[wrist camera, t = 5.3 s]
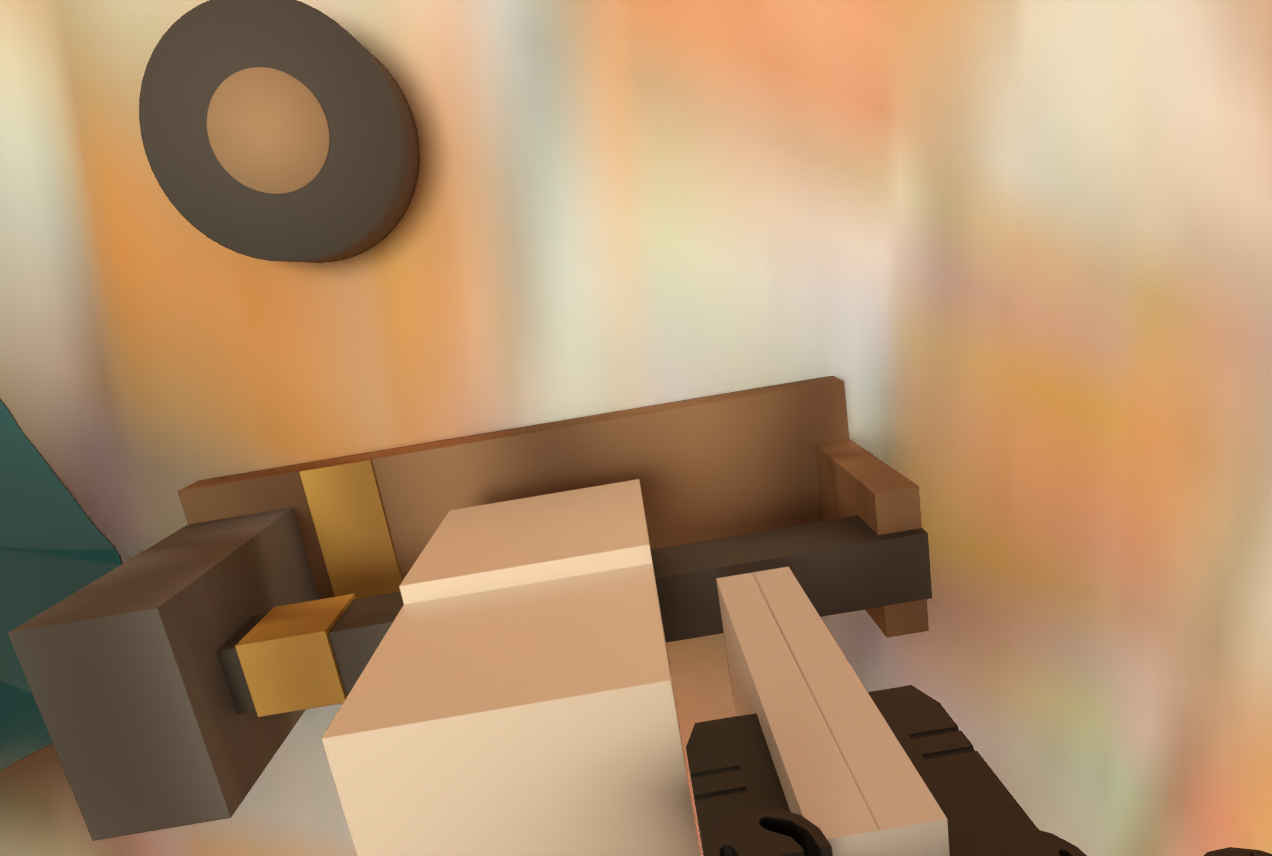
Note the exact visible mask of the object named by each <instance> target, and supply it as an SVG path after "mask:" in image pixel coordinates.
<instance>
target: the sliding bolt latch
mask: <svg viewBox="0 0 1272 856" xmlns="http://www.w3.org/2000/svg"><path fill="white" fill-rule="evenodd" d="M636 479H639V481H640V487H641V493H642V499H643V505H644V511H645V517H646V523H647V529H648V535H649V541H650V547H651V556H652V562H653V569H654V575H655V581H656V587H657V593H658V599H659V605H660V611H661V617H662V623H663V629H664V635H665V641H666V642H672V641H678V640H684V639H690V638H696V637H702V636H708V635H714V634H720V633H724V631H723V624H722V617H721V610H720V603H719V595H718V588H717V581H716V578H722V577H728V576H734V575H740V574H746V573H752V572H758V571H765V570H771V569H777V568H783V567H789V568H790V570H791V571H792V573H793V574H794V576H795V578H796V579H797V581H798V582H799V584H800V586H801V587H802V589H803V590H804V592H805V594H806V595H807V597H808V598H809V600H810V601H811V603H812V605H813V606H814V608H815V609H816V611H817V613H818V614H819V616H820V617H821V616H827V615H833V614H839V613H845V612H851V611H857V610H863V609H865V610H866V611H867V612H868V614H869V615H870V616H871V618H872V619H873V620H874V621H875V623H876V624H877V625H878V627H879V628H880V629H881V631H882V632H883V633H884V635H885V636H886V637H893V636H899V635H905V634H911V633H917V632H923V631H929V628H928V614H927V599H929V598H932V591H931V576H930V561H929V546H928V533H927V532H926V531H925V530H923V529H922V527H921V512H920V498H919V486H917V485H916V484H914V483H913V482H911V481H910V480H909V479H907V478H906V477H904V476H903V475H901V474H900V473H898V472H897V471H895V470H894V469H892V468H891V467H890V466H888V465H887V464H885V463H884V462H882V461H881V460H879V459H878V458H876V457H875V456H874V455H872V454H871V453H869V452H868V451H866V450H865V449H863V448H862V447H860V446H859V445H857V444H856V443H855V442H853V441H852V440H850V439H849V432H848V421H847V410H846V399H845V388H844V381H843V380H840V379H838V378H836V377H834V376H829V377H823V378H817V379H811V380H805V381H799V382H793V383H787V384H780V385H774V386H768V387H762V388H756V389H750V390H744V391H738V392H732V393H726V394H720V395H714V396H708V397H702V398H696V399H690V400H684V401H678V402H672V403H666V404H660V405H654V406H648V407H642V408H636V409H629V410H623V411H617V412H611V413H605V414H599V415H593V416H587V417H581V418H575V419H569V420H563V421H557V422H551V423H545V424H539V425H533V426H527V427H521V428H515V429H509V430H503V431H497V432H491V433H484V434H478V435H472V436H466V437H460V438H454V439H448V440H442V441H436V442H430V443H424V444H418V445H412V446H406V447H400V448H394V449H388V450H382V451H376V452H370V453H364V454H358V455H352V456H346V457H340V458H333V459H327V460H321V461H315V462H309V463H303V464H297V465H291V466H285V467H279V468H273V469H267V470H261V471H255V472H249V473H243V474H237V475H231V476H225V477H219V478H213V479H207V480H201V481H197V482H195V483H193V484H191V485H189V486H187V487H185V488H184V489H182V490H180V491H178V493H179V496H180V499H181V502H182V506H183V509H184V512H185V515H186V518H187V521H188V524H189V525H187V526H185V527H184V528H182V529H180V530H179V531H177V532H175V533H174V534H172V535H170V536H169V537H167V538H165V539H164V540H162V541H160V542H159V543H157V544H155V545H154V546H152V547H150V548H149V549H147V550H145V551H144V552H142V553H140V554H139V555H137V556H135V557H134V558H132V559H130V560H129V561H127V562H125V563H124V564H122V565H120V566H119V567H117V568H115V569H114V570H112V571H110V572H109V573H107V574H105V575H104V576H102V577H100V578H99V579H97V580H95V581H94V582H92V583H90V584H89V585H87V586H85V587H84V588H82V589H80V590H79V591H77V592H75V593H74V594H72V595H70V596H69V597H67V598H65V599H64V600H62V601H60V602H59V603H57V604H55V605H54V606H52V607H50V608H49V609H47V610H45V611H44V612H42V613H40V614H39V615H37V616H35V617H34V618H32V619H30V620H29V621H27V622H25V623H24V624H22V625H20V626H19V627H17V628H15V629H14V630H12V631H10V632H9V633H8V635H9V637H10V640H11V642H12V645H13V647H14V650H15V652H16V654H17V657H18V659H19V662H20V664H21V667H22V669H23V671H24V674H25V676H26V679H27V681H28V684H29V686H30V689H31V691H32V693H33V696H34V698H35V701H36V703H37V706H38V708H39V711H40V713H41V715H42V718H43V720H44V723H45V725H46V728H47V730H48V733H49V735H50V737H51V740H52V742H53V745H54V747H55V750H56V752H57V755H58V757H59V759H60V762H61V764H62V767H63V769H64V772H65V774H66V777H67V779H68V781H69V784H70V786H71V789H72V791H73V794H74V796H75V799H76V801H77V803H78V806H79V808H80V811H81V813H82V816H83V818H84V820H85V823H86V825H87V828H88V830H89V833H90V835H91V838H92V840H93V841H94V840H100V839H106V838H112V837H118V836H124V835H130V834H136V833H142V832H148V831H154V830H160V829H166V828H172V827H178V826H184V825H190V824H196V823H202V822H208V821H214V820H220V819H226V818H231V817H232V815H233V814H234V812H235V811H236V809H237V808H238V806H239V805H240V804H241V802H242V801H243V799H244V798H245V796H246V795H247V793H248V792H249V791H250V789H251V788H252V786H253V785H254V783H255V782H256V780H257V779H258V778H259V776H260V775H261V773H262V772H263V770H264V769H265V767H266V766H267V765H268V763H269V762H270V760H271V759H272V757H273V756H274V754H275V753H276V752H277V750H278V749H279V747H280V746H281V744H282V743H283V741H284V740H285V739H286V737H287V736H288V734H289V733H290V731H291V730H292V728H293V727H294V726H295V724H296V723H297V721H298V720H299V718H300V717H301V715H302V714H303V713H304V711H305V710H306V709H309V708H315V707H321V706H327V705H333V704H339V703H344V701H345V700H346V698H347V696H348V695H349V693H350V692H351V690H352V688H353V687H354V685H355V683H356V682H357V680H358V678H359V677H360V675H361V674H362V672H363V670H364V669H365V667H366V665H367V664H368V662H369V661H370V659H371V657H372V656H373V654H374V652H375V651H376V649H377V648H378V646H379V644H380V643H381V641H382V639H383V638H384V636H385V635H386V633H387V631H388V630H389V628H390V626H391V625H392V623H393V622H394V620H395V618H396V617H397V615H398V613H399V612H400V610H401V609H402V607H403V605H404V603H403V599H402V595H401V591H400V587H399V586H400V584H401V583H402V581H403V580H404V578H405V577H406V575H407V574H408V572H409V571H410V569H411V568H412V566H413V565H414V563H415V562H416V560H417V559H418V557H419V556H420V554H421V553H422V551H423V550H424V548H425V547H426V545H427V544H428V542H429V541H430V539H431V538H432V536H433V535H434V533H435V532H436V530H437V529H438V527H439V526H440V524H441V523H442V521H443V520H444V518H445V517H446V515H447V514H448V512H449V511H450V510H456V509H462V508H468V507H474V506H480V505H486V504H492V503H498V502H504V501H510V500H516V499H522V498H528V497H534V496H540V495H546V494H552V493H558V492H564V491H570V490H576V489H582V488H588V487H594V486H600V485H606V484H612V483H618V482H624V481H630V480H636Z"/></svg>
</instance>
